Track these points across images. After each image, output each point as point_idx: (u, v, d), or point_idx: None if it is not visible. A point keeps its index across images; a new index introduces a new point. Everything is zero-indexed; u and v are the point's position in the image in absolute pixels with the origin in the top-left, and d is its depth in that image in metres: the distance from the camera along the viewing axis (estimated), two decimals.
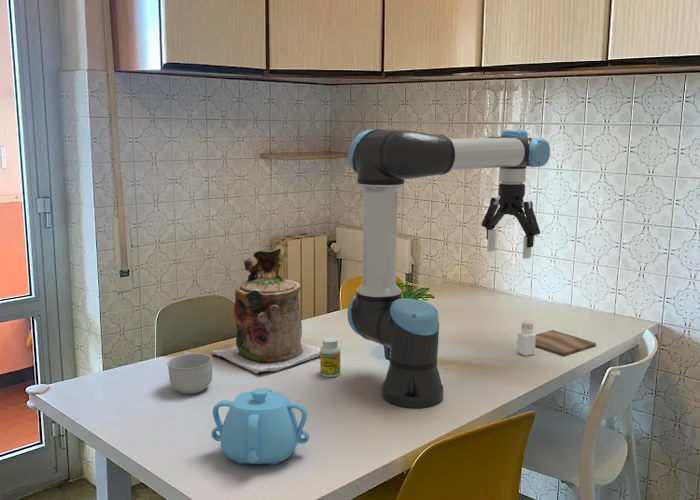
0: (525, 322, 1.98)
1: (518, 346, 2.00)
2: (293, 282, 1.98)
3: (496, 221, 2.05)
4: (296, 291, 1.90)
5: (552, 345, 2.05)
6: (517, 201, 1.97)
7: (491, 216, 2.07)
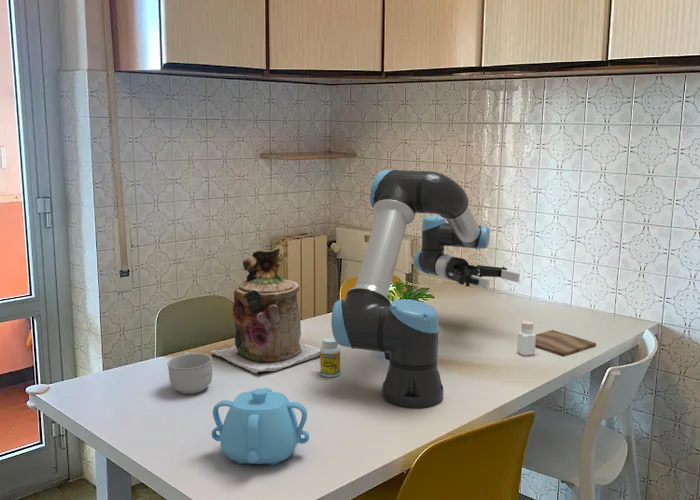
0: (525, 322, 1.98)
1: (518, 346, 2.00)
2: (292, 282, 1.98)
3: (492, 273, 2.14)
4: (295, 291, 1.90)
5: (552, 345, 2.05)
6: None
7: None
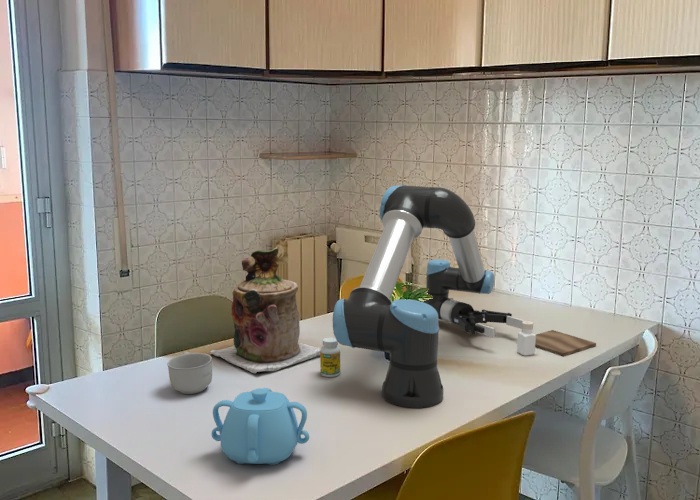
0: (525, 322, 1.98)
1: (518, 346, 2.00)
2: (291, 282, 1.98)
3: (497, 319, 2.15)
4: (294, 291, 1.90)
5: (552, 345, 2.05)
6: None
7: None
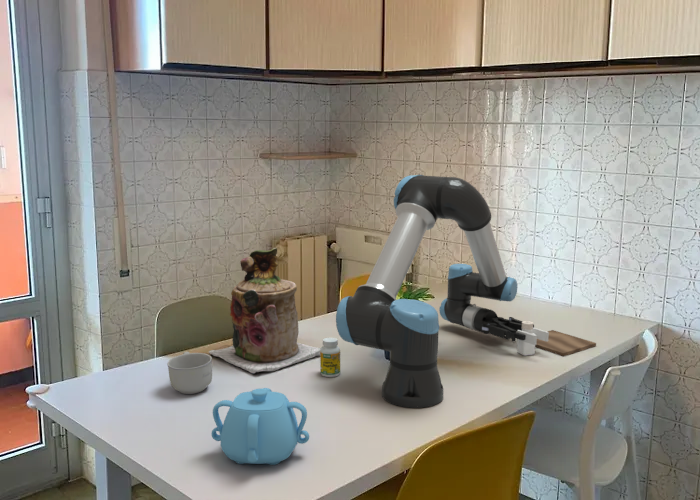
0: (525, 322, 1.98)
1: (518, 346, 2.00)
2: (289, 282, 1.98)
3: (518, 328, 2.04)
4: (293, 291, 1.90)
5: (552, 345, 2.05)
6: None
7: None
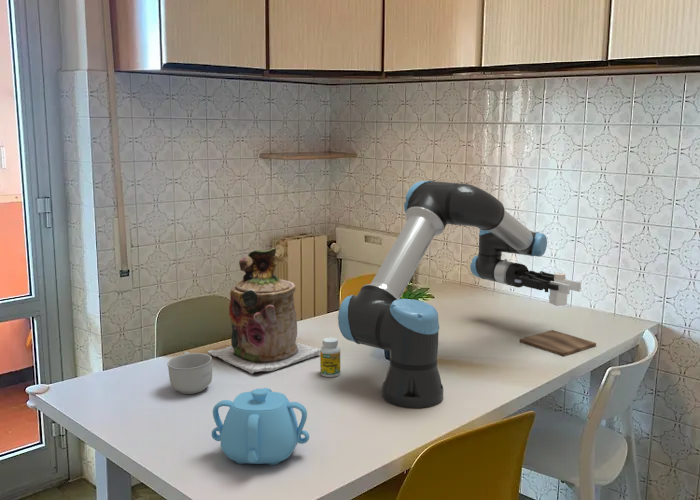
0: (557, 273, 2.04)
1: (551, 297, 2.06)
2: (288, 282, 1.98)
3: (550, 280, 2.10)
4: (291, 291, 1.90)
5: (552, 345, 2.05)
6: None
7: None
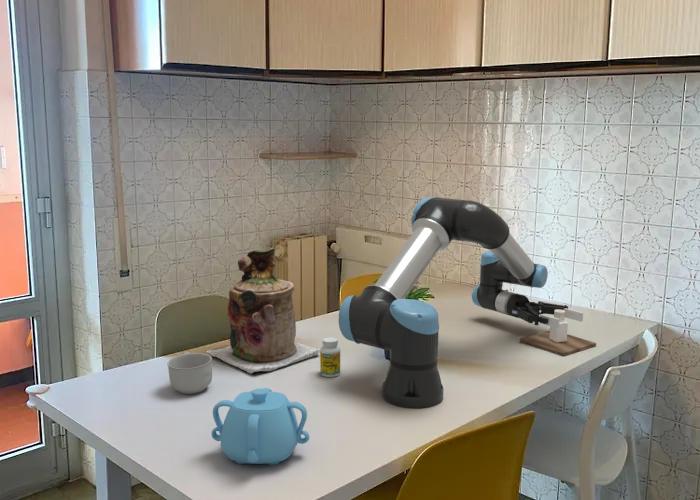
0: (557, 310, 2.07)
1: (551, 333, 2.08)
2: (287, 282, 1.98)
3: (553, 311, 2.14)
4: (290, 291, 1.90)
5: (552, 345, 2.05)
6: None
7: None
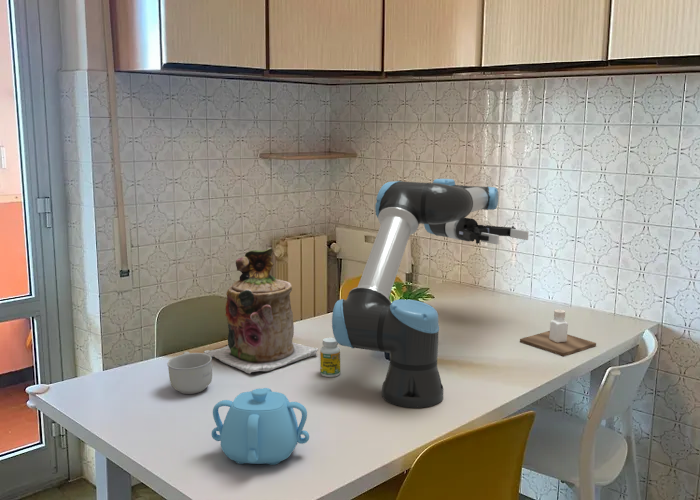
0: (557, 310, 2.07)
1: (551, 333, 2.08)
2: (284, 282, 1.98)
3: (501, 232, 2.19)
4: (288, 291, 1.90)
5: (552, 345, 2.05)
6: None
7: None
